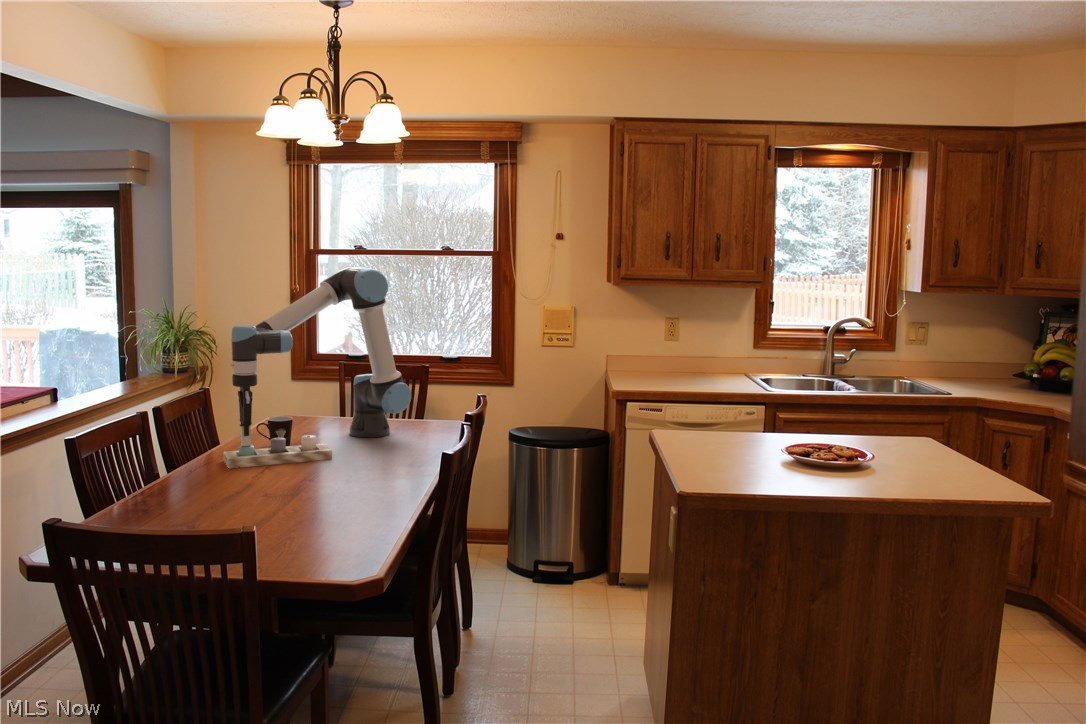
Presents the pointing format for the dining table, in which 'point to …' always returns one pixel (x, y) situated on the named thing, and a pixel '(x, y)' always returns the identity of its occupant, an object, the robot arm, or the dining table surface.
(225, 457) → the wooden compartment tray
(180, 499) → the dining table surface
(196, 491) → the dining table surface
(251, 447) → the button
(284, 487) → the dining table surface
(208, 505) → the dining table surface
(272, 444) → the gray dotted rounded cylinder
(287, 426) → the coffee mug
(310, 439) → the button
